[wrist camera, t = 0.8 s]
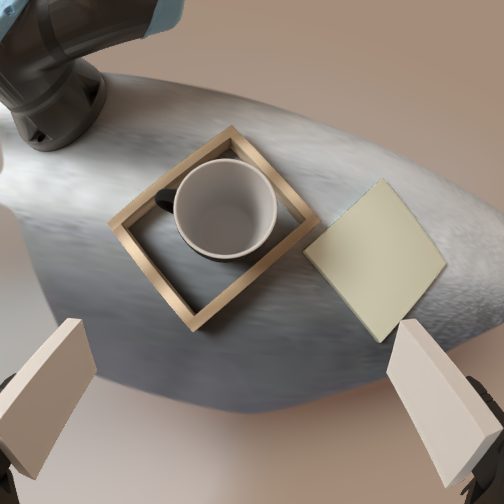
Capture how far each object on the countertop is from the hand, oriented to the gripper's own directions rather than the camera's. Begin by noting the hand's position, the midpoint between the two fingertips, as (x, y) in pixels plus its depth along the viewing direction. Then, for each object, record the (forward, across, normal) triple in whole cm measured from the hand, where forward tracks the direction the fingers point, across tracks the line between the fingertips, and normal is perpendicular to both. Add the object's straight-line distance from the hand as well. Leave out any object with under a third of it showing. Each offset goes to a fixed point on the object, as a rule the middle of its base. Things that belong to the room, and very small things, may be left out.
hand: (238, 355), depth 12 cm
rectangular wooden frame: (+25, -4, -1) cm, 26 cm away
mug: (+25, -4, -1) cm, 26 cm away
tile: (+25, +17, -5) cm, 31 cm away
